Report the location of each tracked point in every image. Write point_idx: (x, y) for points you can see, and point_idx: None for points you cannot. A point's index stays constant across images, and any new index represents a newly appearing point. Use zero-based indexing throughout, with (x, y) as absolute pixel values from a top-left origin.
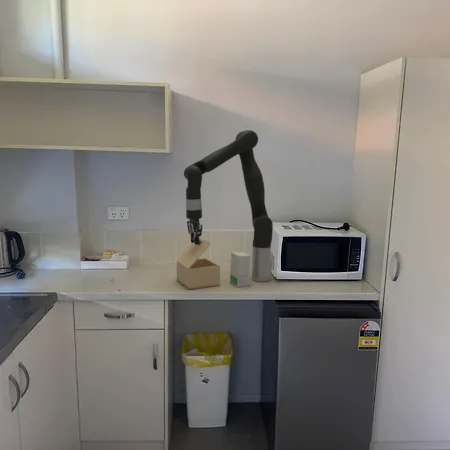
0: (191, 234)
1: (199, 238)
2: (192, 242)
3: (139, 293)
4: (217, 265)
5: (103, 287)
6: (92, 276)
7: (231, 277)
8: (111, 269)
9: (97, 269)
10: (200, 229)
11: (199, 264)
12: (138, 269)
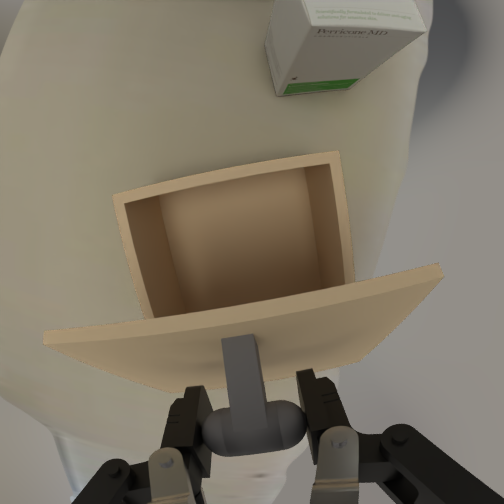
0: (198, 484)
1: (118, 341)
2: (210, 410)
3: (306, 443)
4: (331, 166)
5: (226, 495)
6: None
7: (297, 86)
8: (64, 457)
9: (70, 476)
10: (467, 496)
11: (145, 239)
12: (51, 408)
